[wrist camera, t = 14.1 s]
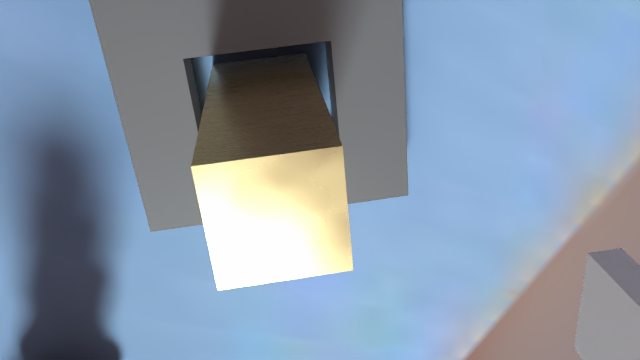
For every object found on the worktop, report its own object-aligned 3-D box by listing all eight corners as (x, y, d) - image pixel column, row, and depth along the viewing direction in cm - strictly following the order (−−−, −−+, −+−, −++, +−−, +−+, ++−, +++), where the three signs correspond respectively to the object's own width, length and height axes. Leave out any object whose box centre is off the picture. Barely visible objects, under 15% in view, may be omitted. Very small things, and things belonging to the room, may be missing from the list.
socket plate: (379, -252, 23) (394, -270, 20) (396, 174, 31) (408, 195, 29) (48, -222, 22) (25, -237, 20) (157, 207, 30) (150, 231, 28)
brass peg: (305, 52, 28) (342, 146, 17) (314, 138, 30) (353, 270, 19) (212, 64, 27) (190, 166, 16) (228, 149, 29) (218, 290, 18)
